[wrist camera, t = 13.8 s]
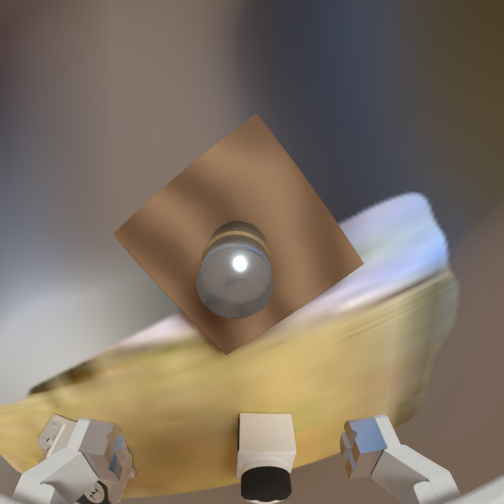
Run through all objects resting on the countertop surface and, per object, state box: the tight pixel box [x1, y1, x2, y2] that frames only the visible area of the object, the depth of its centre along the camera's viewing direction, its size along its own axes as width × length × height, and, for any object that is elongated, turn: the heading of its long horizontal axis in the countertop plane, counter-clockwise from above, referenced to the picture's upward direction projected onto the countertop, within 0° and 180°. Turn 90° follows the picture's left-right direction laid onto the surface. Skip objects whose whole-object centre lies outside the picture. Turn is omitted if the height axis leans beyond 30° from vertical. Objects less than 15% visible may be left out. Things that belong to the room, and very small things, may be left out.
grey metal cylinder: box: [197, 221, 273, 319], centre depth 24 cm, size 5×5×7 cm
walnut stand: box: [113, 114, 364, 355], centre depth 30 cm, size 16×16×4 cm
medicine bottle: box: [237, 413, 296, 504], centre depth 36 cm, size 7×7×12 cm
